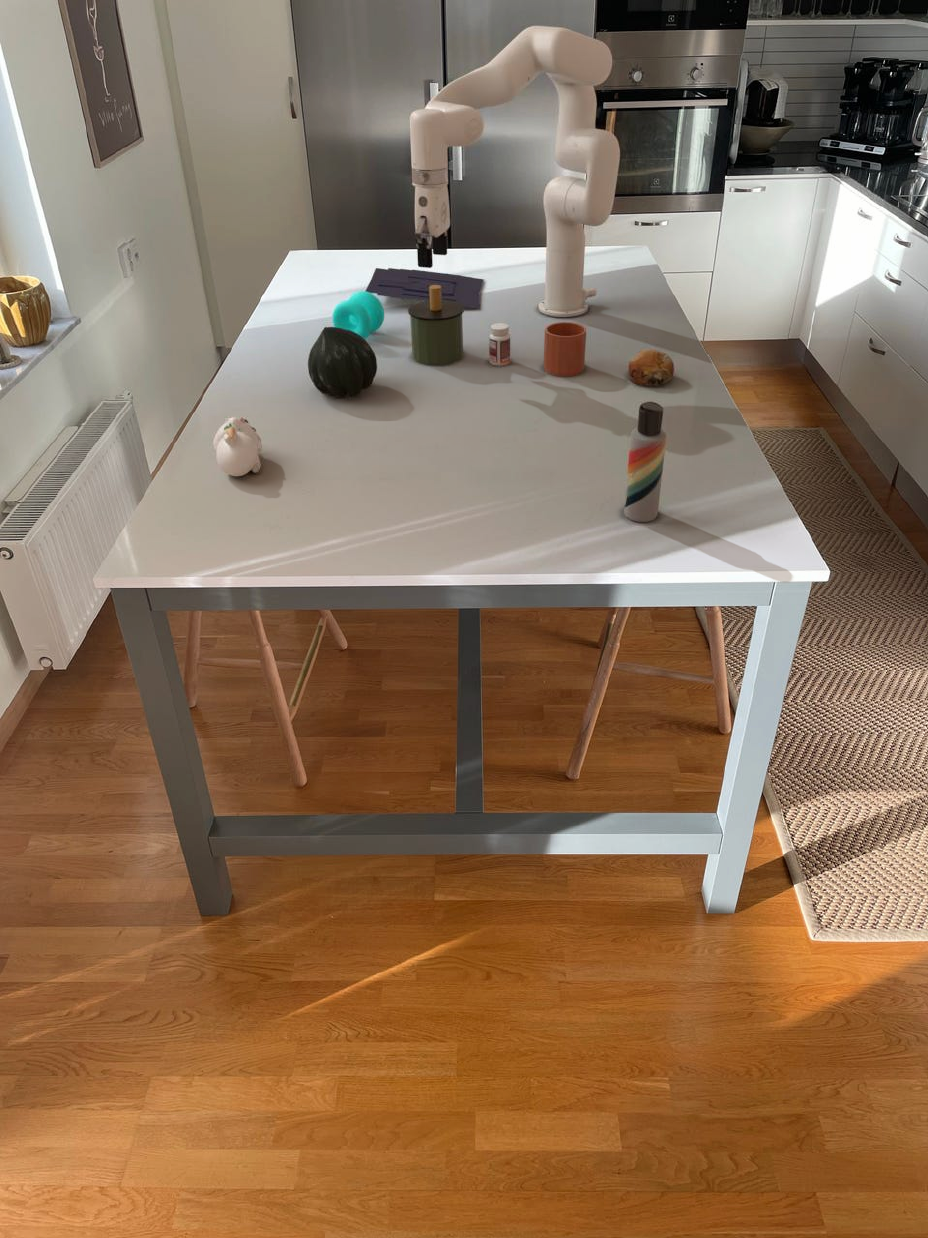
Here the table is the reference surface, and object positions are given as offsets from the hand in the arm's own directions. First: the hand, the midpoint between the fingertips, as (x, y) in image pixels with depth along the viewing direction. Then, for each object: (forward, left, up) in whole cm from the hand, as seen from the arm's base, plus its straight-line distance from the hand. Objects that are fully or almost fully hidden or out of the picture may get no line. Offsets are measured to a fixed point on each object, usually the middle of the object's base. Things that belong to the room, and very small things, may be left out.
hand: (432, 260), depth 210 cm
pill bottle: (-9, +12, -22) cm, 27 cm away
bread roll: (-29, +40, -22) cm, 54 cm away
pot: (0, 0, -22) cm, 22 cm away
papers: (-22, -38, -22) cm, 49 cm away
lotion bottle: (+13, +81, -22) cm, 85 cm away
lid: (0, 0, -11) cm, 11 cm away
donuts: (+8, -22, -22) cm, 32 cm away
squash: (+27, +4, -22) cm, 35 cm away
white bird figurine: (+60, +22, -22) cm, 67 cm away
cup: (-18, +24, -22) cm, 37 cm away
